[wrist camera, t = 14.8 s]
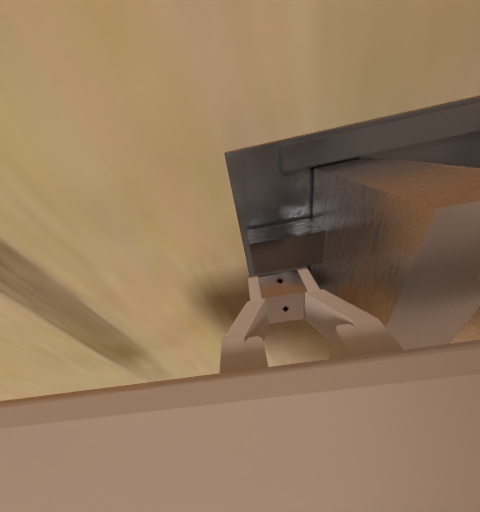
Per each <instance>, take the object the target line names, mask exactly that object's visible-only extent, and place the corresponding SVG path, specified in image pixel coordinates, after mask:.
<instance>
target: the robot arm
mask: <svg viewBox="0 0 480 512" xmlns="http://www.w3.org/2000/svg"><path fill="white" fill-rule="evenodd" d="M248 285H249V294H250V301H247V303H246V304H245V306H244V307H243V309H242V310H241V312H240V313H239V315H238V316H237V318H236V319H235V321H234V322H233V324H232V326H231V327H230V329H229V330H228V332H227V333H226V335H225V336H224V338H223V339H222V345H221V361H220V373H219V374H211V375H203V376H195V377H187V378H180V379H172V380H164V381H156V382H148V383H140V384H132V385H124V386H117V387H109V388H101V389H93V390H85V391H77V392H69V393H61V394H53V395H45V396H38V397H30V398H22V399H13V400H5V401H0V512H480V340H477V341H469V342H461V343H453V344H445V345H438V346H430V347H422V348H414V349H406V350H404V349H403V348H402V347H401V346H400V345H399V343H398V342H397V341H396V340H395V338H394V337H393V336H392V335H391V334H390V332H389V331H388V330H387V329H386V327H385V326H384V325H383V324H382V323H381V321H380V320H379V319H378V318H376V317H374V316H372V315H371V314H369V313H367V312H365V311H363V310H361V309H359V308H358V307H356V306H354V305H352V304H350V303H348V302H346V301H344V300H343V299H341V298H339V297H337V296H335V295H333V294H331V293H330V292H328V291H326V290H324V289H322V290H320V288H319V287H318V285H317V283H316V282H315V280H314V278H313V277H312V275H311V273H310V272H309V270H308V268H301V269H296V270H291V271H285V272H280V273H273V274H266V275H259V276H253V277H248ZM302 319H304V320H305V321H306V322H307V323H308V324H309V325H310V326H312V327H313V328H314V329H315V330H316V331H317V332H318V333H319V334H321V335H322V336H323V337H324V338H325V339H326V340H327V341H328V342H330V343H331V344H332V345H333V347H332V352H331V358H330V359H328V360H320V361H312V362H304V363H297V364H289V365H281V366H273V367H268V363H267V358H266V353H265V348H264V343H263V341H264V339H265V336H266V334H267V331H268V328H269V326H270V324H274V323H280V322H285V321H293V320H302Z"/></svg>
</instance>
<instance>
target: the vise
mask: <svg viewBox="0 0 480 512" xmlns="http://www.w3.org/2000/svg"><path fill="white" fill-rule="evenodd" d="M366 157H369V158H377V159H384V158H389V159H398V160H408V161H417V162H426V163H436V164H445V165H455V166H464V167H474V168H480V96H476V97H471V98H467V99H462V100H458V101H453V102H449V103H444V104H440V105H435V106H431V107H426V108H422V109H417V110H413V111H408V112H404V113H399V114H395V115H390V116H386V117H381V118H377V119H372V120H368V121H364V122H359V123H355V124H350V125H346V126H341V127H337V128H332V129H328V130H323V131H319V132H314V133H310V134H305V135H301V136H296V137H292V138H287V139H283V140H278V141H274V142H269V143H265V144H260V145H256V146H251V147H247V148H242V149H238V150H234V151H229V152H225V159H226V164H227V169H228V173H229V178H230V183H231V188H232V193H233V198H234V202H235V207H236V212H237V217H238V222H239V227H240V232H241V236H242V241H243V246H244V251H245V256H246V261H247V266H248V270H249V275H250V277H253V276H259V275H266V274H273V273H280V272H285V271H291V270H296V269H301V268H308V270H309V272H310V265H309V266H303V267H297V268H291V269H285V270H279V271H273V272H267V273H261V274H255V273H254V267H253V262H252V256H251V251H250V246H249V239H248V233H247V230H251V229H256V228H262V227H267V226H272V225H278V224H283V223H289V222H294V221H299V220H305V219H310V218H312V211H313V185H314V168H318V167H323V166H328V165H333V164H338V163H342V162H347V161H352V160H357V159H362V158H366Z"/></svg>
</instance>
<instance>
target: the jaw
mask: <svg viewBox="0 0 480 512" xmlns="http://www.w3.org/2000/svg"><path fill="white" fill-rule="evenodd" d="M247 233H248V239H249V246H250V251H251V256H252V262H253V267H254V273H255V274H261V273H267V272H273V271H279V270H285V269H291V268H297V267H303V266H309V265H310V273H311V275H312V277H313V278H314V280H315V282H316V283H317V285H318V287H319V288H320V290H322V289H324V290H326V291H328V292H330V293H331V294H333V295H335V296H337V297H339V298H341V299H343V300H344V301H346V302H348V303H350V304H352V305H354V306H356V307H358V308H359V309H361V310H363V311H365V312H367V313H369V314H371V315H372V316H374V317H376V318H378V319H379V320H380V321H381V323H382V324H383V325H384V326H385V327H386V329H387V330H388V331H389V332H390V334H391V335H392V336H393V337H394V338H395V340H396V341H397V342H398V343H399V345H400V346H401V347H402V348H403V349H404V350H406V349H414V348H422V347H430V346H438V345H445V344H449V343H450V342H451V341H452V340H453V339H454V337H455V336H456V335H457V334H458V332H459V331H460V330H461V329H462V328H463V326H464V325H465V324H466V323H467V322H468V320H469V319H470V318H471V317H472V316H473V314H474V313H475V312H476V311H477V309H478V308H479V307H480V168H474V167H464V166H455V165H445V164H436V163H426V162H417V161H408V160H398V159H389V158H384V159H377V158H369V157H366V158H362V159H357V160H352V161H347V162H342V163H338V164H333V165H328V166H323V167H318V168H314V185H313V211H312V218H310V219H305V220H299V221H294V222H289V223H283V224H278V225H272V226H267V227H262V228H256V229H251V230H247Z"/></svg>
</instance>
